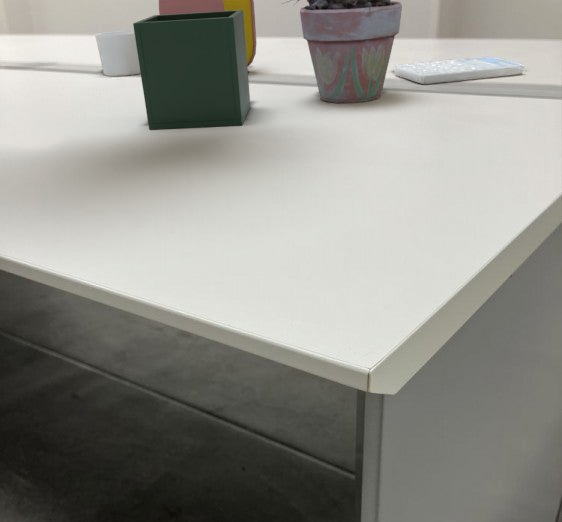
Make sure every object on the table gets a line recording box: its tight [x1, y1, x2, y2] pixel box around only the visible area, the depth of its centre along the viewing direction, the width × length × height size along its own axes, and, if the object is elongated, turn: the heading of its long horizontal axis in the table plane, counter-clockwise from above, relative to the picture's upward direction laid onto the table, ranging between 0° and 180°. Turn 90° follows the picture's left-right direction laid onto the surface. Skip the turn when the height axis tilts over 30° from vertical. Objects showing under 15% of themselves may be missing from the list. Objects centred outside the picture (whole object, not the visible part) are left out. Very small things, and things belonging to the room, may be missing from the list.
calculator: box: [394, 56, 525, 85], centre depth 124 cm, size 13×20×2 cm, turn 104°
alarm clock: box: [158, 0, 257, 68], centre depth 139 cm, size 18×11×19 cm, turn 49°
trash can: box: [132, 10, 251, 131], centre depth 100 cm, size 14×14×14 cm
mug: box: [95, 29, 141, 77], centre depth 151 cm, size 13×10×8 cm
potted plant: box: [281, 0, 403, 104], centre depth 105 cm, size 18×20×25 cm
